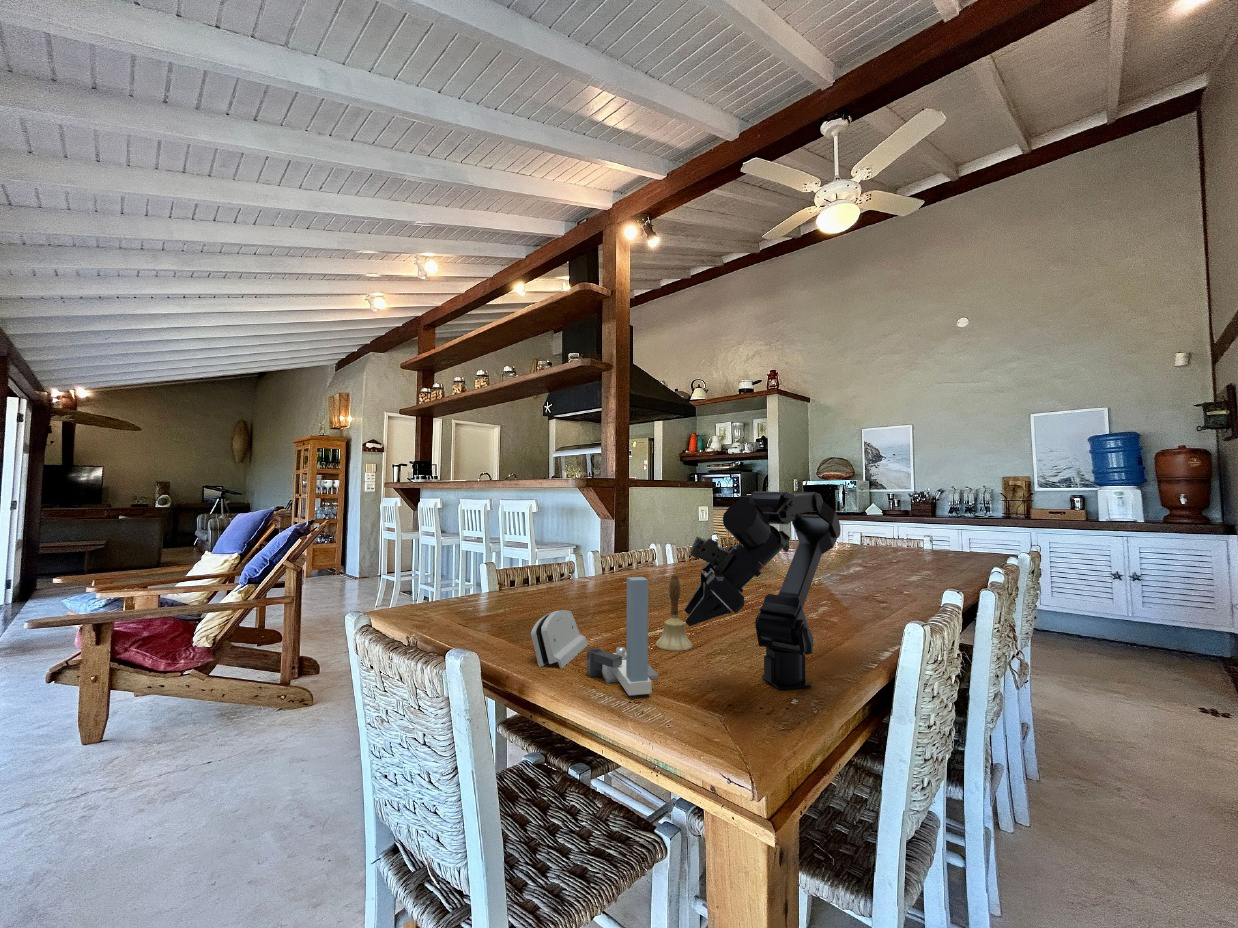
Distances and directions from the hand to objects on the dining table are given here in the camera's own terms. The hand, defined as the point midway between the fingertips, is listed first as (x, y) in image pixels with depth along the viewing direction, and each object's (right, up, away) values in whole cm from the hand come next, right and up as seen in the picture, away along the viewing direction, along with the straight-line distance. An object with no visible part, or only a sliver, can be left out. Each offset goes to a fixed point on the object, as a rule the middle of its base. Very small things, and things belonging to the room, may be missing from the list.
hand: (686, 617), depth 89 cm
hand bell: (+1, -15, +27) cm, 31 cm away
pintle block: (-11, -13, +10) cm, 20 cm away
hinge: (-24, -14, +21) cm, 35 cm away
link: (-10, -13, +6) cm, 17 cm away
